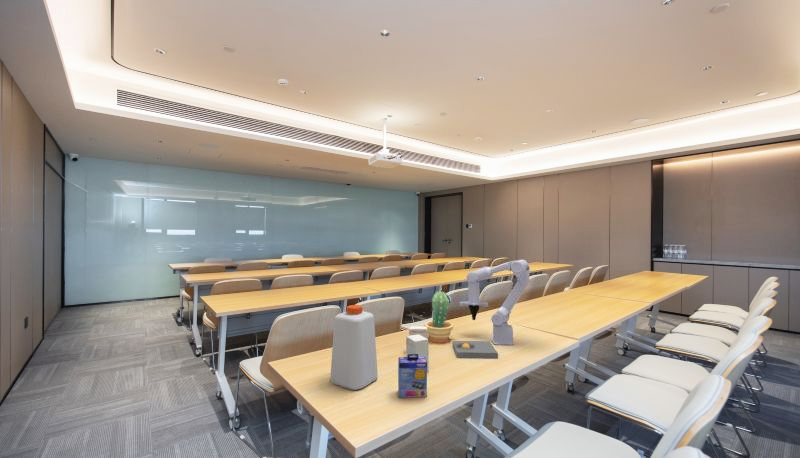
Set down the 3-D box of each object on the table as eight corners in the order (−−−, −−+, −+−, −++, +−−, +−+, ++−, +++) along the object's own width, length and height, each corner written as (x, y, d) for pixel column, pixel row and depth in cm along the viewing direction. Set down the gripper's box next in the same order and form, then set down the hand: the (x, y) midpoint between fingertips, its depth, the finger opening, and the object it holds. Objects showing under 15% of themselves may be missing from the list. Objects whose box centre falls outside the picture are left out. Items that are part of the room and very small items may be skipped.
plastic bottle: (357, 393, 117) (357, 313, 117) (325, 383, 125) (325, 307, 125) (382, 377, 129) (382, 305, 130) (351, 369, 137) (352, 300, 138)
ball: (459, 350, 159) (466, 347, 160) (464, 355, 155) (472, 352, 157) (459, 343, 157) (466, 340, 159) (464, 348, 154) (471, 345, 155)
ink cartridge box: (398, 398, 113) (398, 355, 113) (397, 390, 119) (397, 349, 119) (427, 397, 114) (427, 354, 114) (425, 389, 119) (425, 349, 120)
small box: (428, 371, 135) (428, 339, 135) (415, 374, 132) (415, 341, 132) (419, 364, 142) (419, 333, 142) (405, 367, 139) (405, 335, 140)
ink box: (427, 351, 158) (427, 326, 158) (427, 355, 153) (427, 329, 153) (409, 350, 159) (409, 325, 159) (409, 354, 154) (409, 328, 154)
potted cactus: (456, 344, 167) (456, 294, 167) (425, 344, 167) (425, 294, 167) (451, 335, 182) (451, 289, 183) (423, 335, 183) (423, 289, 183)
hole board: (489, 346, 165) (489, 341, 165) (497, 358, 149) (497, 352, 149) (452, 345, 165) (452, 340, 166) (457, 357, 150) (457, 352, 150)
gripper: (460, 295, 176) (460, 321, 176) (488, 295, 175) (488, 321, 174) (459, 292, 183) (459, 317, 183) (486, 293, 182) (486, 318, 181)
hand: (473, 319), depth 179 cm, fingers closed
